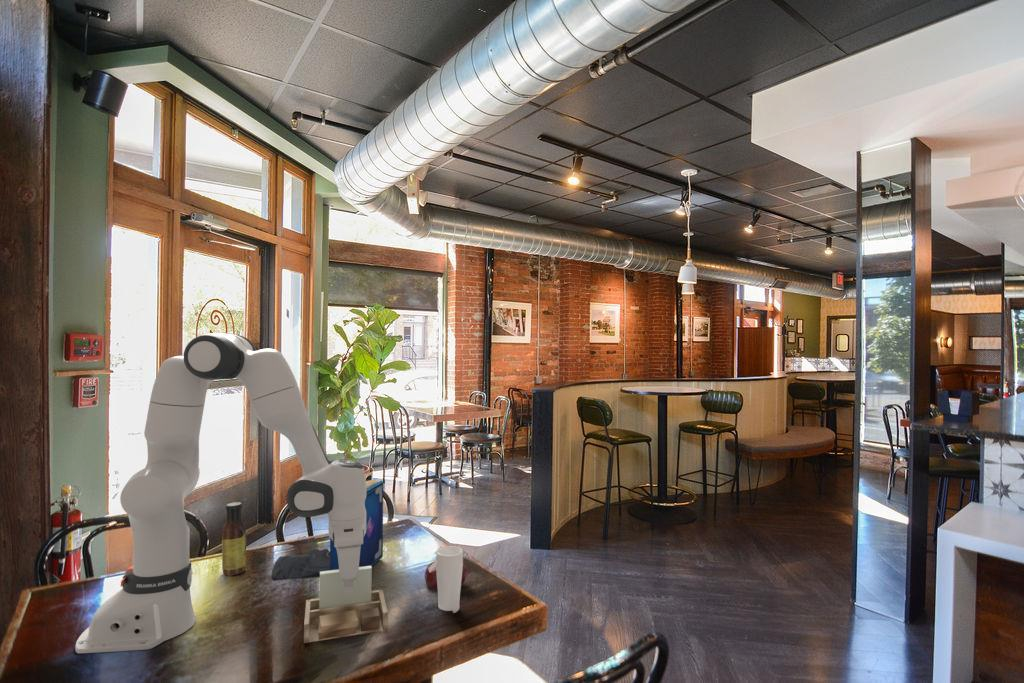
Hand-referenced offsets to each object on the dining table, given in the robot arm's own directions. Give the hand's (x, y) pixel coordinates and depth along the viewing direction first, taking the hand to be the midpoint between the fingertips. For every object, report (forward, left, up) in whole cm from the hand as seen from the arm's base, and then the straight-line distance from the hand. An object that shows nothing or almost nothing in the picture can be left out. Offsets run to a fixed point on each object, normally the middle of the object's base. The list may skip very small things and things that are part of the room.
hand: (347, 584), depth 129 cm
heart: (+27, +11, -9) cm, 30 cm away
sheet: (0, 0, -8) cm, 8 cm away
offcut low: (-2, -7, -8) cm, 10 cm away
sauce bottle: (-30, +38, -9) cm, 50 cm away
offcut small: (+5, -7, -8) cm, 11 cm away
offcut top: (-2, -7, -6) cm, 9 cm away
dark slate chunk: (-9, +35, -9) cm, 38 cm away
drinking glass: (+25, -3, -9) cm, 26 cm away
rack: (0, -4, -9) cm, 9 cm away
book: (+4, +27, -9) cm, 29 cm away
